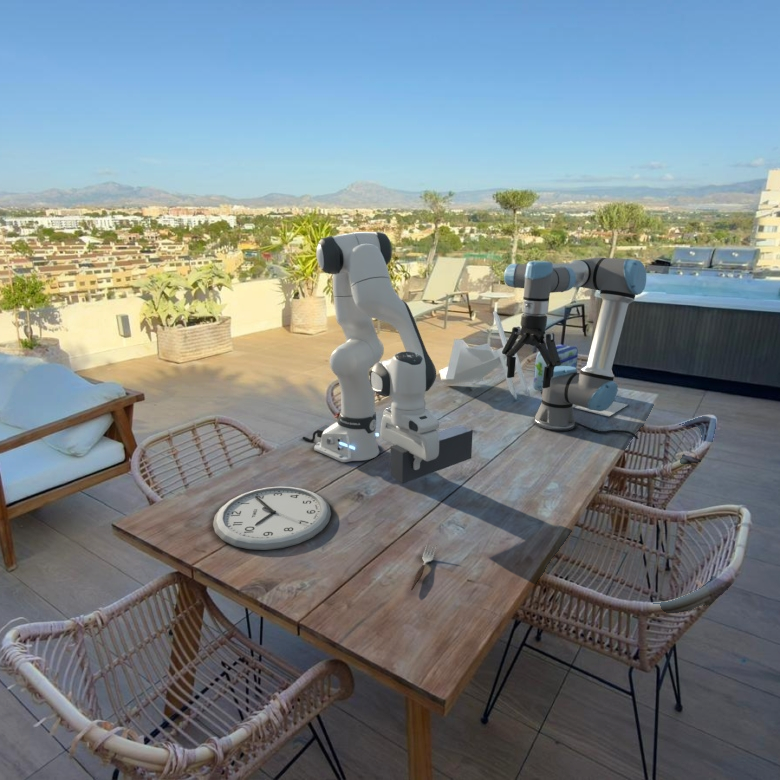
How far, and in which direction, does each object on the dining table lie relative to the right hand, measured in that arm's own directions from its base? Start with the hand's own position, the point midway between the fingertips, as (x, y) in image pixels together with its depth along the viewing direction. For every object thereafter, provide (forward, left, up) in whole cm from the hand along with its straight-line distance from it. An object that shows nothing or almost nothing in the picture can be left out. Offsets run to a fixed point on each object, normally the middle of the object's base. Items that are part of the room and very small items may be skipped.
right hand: (527, 382), depth 163 cm
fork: (+28, +61, -27) cm, 73 cm away
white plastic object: (+10, -75, -27) cm, 80 cm away
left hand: (+34, +34, -15) cm, 50 cm away
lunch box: (-26, -86, -27) cm, 94 cm away
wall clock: (+68, +44, -27) cm, 86 cm away
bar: (+28, +28, -18) cm, 43 cm away
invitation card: (-42, -63, -27) cm, 80 cm away
